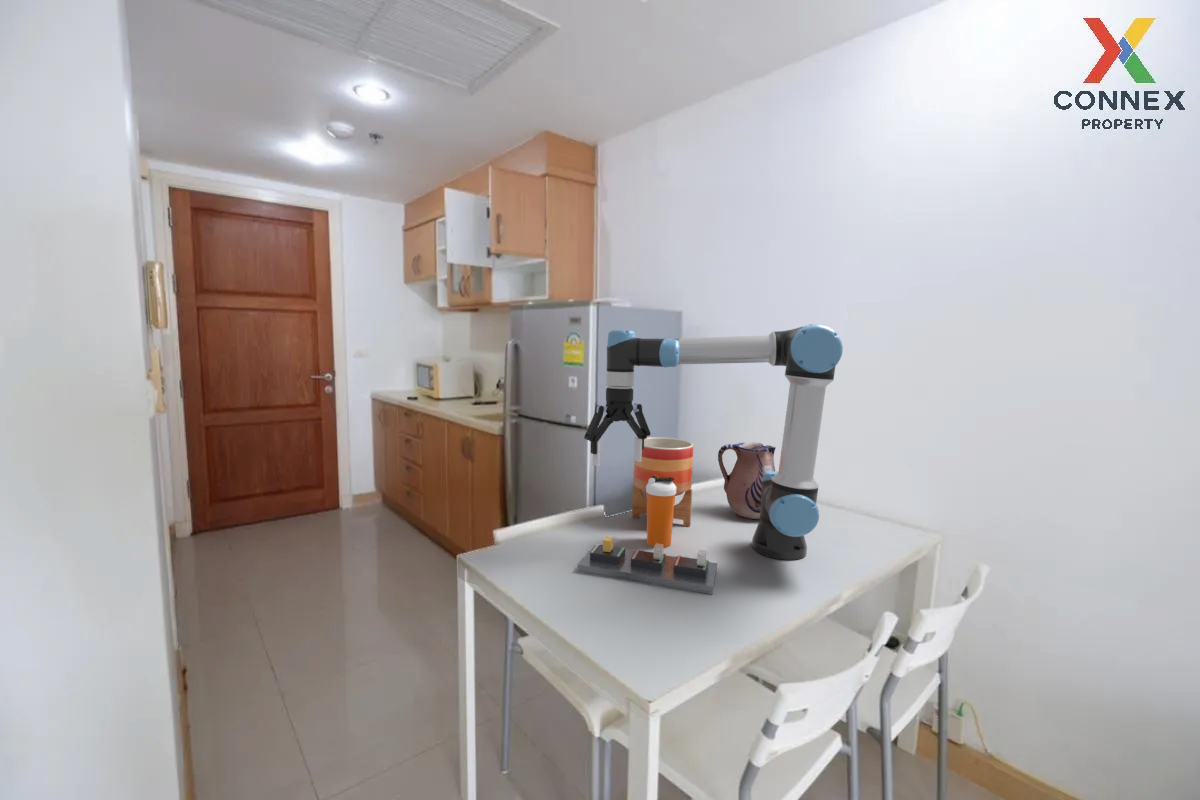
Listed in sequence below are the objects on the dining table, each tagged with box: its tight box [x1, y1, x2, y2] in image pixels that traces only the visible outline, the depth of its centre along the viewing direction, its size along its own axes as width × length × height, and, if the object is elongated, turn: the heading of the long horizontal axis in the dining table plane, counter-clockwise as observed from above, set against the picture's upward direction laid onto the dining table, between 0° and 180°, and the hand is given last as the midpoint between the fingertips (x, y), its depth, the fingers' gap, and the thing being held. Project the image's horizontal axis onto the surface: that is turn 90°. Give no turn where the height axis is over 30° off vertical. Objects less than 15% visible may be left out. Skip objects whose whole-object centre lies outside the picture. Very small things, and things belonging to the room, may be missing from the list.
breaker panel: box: [576, 543, 718, 595], centre depth 134 cm, size 34×14×7 cm, turn 73°
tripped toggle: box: [602, 536, 615, 552], centre depth 137 cm, size 2×3×3 cm, turn 163°
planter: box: [631, 436, 694, 528], centre depth 171 cm, size 20×20×27 cm
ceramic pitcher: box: [717, 442, 776, 520], centre depth 180 cm, size 18×21×25 cm
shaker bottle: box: [645, 475, 676, 548], centre depth 152 cm, size 9×9×20 cm
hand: (617, 463), depth 144 cm, fingers open, 13 cm apart
